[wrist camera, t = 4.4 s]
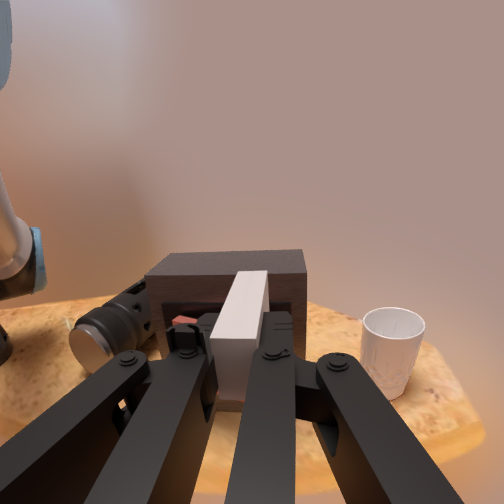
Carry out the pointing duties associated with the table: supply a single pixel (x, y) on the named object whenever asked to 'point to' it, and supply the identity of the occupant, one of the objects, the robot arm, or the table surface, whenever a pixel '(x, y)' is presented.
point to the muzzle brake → (113, 328)
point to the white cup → (390, 347)
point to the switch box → (225, 291)
